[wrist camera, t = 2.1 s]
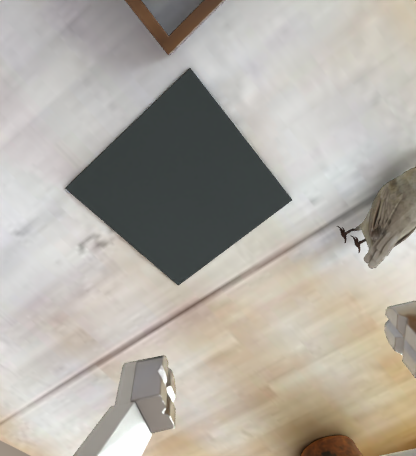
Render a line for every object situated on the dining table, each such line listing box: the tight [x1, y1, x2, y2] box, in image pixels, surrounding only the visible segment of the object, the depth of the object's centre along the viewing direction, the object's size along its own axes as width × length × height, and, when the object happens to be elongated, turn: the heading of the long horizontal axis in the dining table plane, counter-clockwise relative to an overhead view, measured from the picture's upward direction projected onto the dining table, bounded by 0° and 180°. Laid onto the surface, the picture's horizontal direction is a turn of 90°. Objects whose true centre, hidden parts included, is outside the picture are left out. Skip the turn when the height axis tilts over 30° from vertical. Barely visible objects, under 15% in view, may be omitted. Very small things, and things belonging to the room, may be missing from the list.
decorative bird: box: [337, 167, 416, 269], centre depth 39 cm, size 5×16×7 cm, turn 145°
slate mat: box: [65, 68, 292, 285], centre depth 40 cm, size 20×20×1 cm
